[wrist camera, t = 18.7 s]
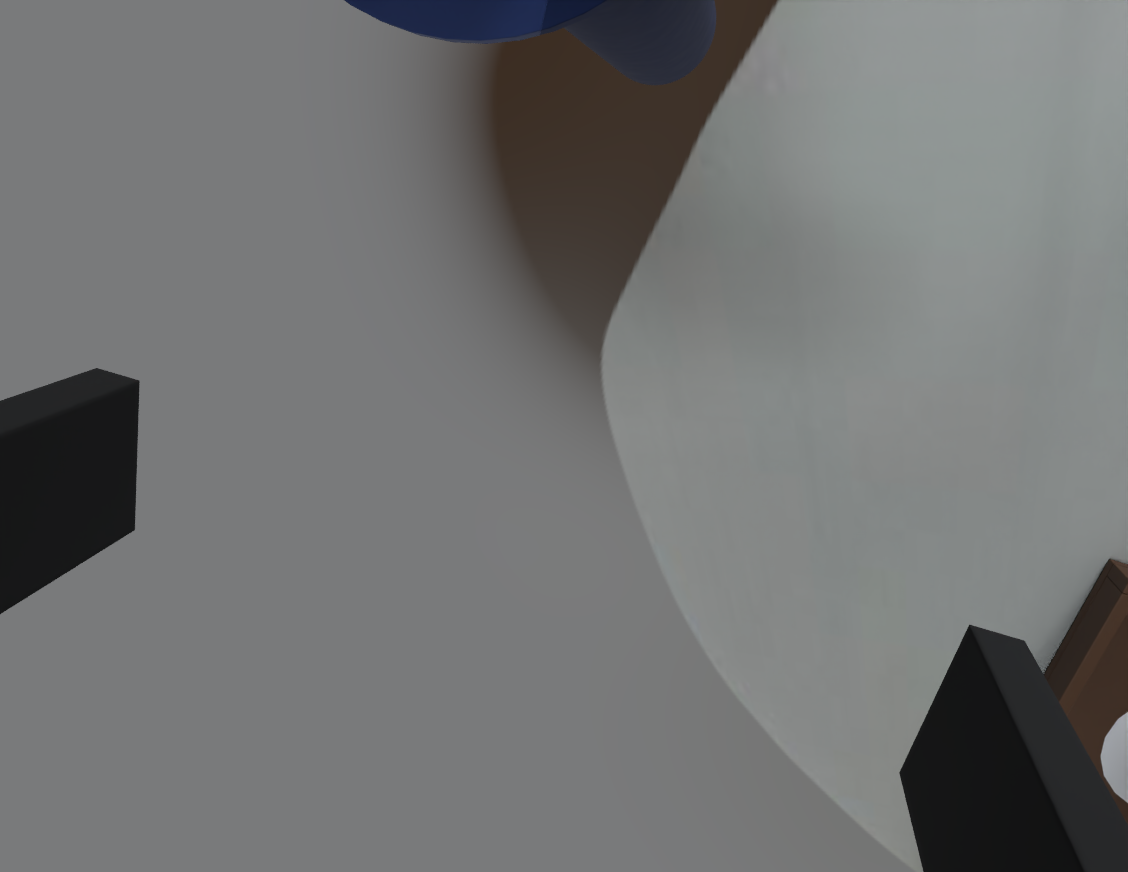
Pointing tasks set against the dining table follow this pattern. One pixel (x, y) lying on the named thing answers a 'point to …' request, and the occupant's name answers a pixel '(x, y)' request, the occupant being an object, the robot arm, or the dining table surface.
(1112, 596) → the tray
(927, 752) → the robot arm
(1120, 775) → the wineglass
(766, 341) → the dining table surface
